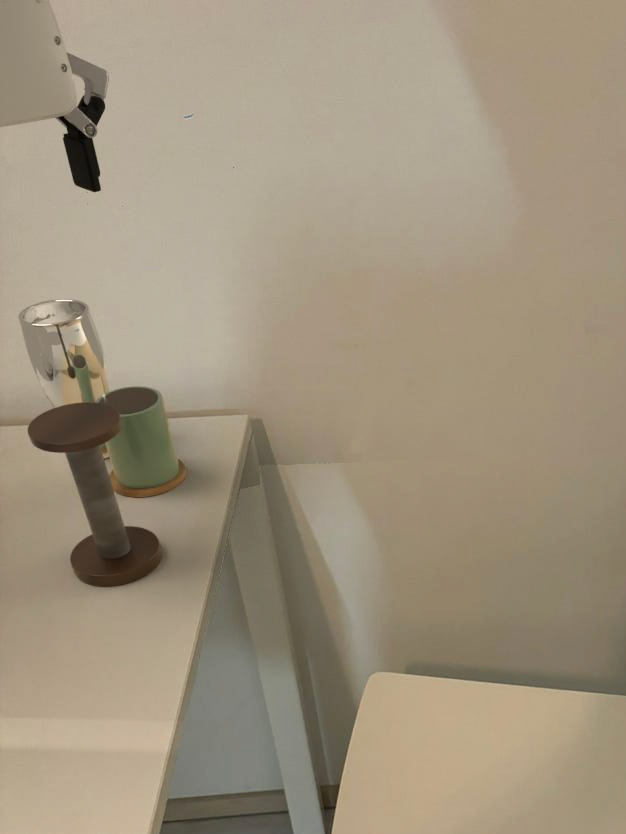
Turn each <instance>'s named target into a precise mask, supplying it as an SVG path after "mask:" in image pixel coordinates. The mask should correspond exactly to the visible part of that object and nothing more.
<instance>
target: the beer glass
mask: <svg viewBox="0 0 626 834" xmlns="http://www.w3.org/2000/svg"><path fill="white" fill-rule="evenodd" d="M18 320H19V324H20V327H21V332H22V337H23V340H24V344H25V347H26V351H27V354H28V357H29V360H30V363H31V366H32V369H33V371H34V373H35V375H36V378H37V379H38V381H39V385H40V386H41V388H42V389H43V391H44V393H45V395H46V396H47V398H48V400H49V403H50V404H51V405H52V409H53V408H56V407H59V406H63V405H68V404H73V403H82V402H94V403H95V402H96V400H97V399H98V398H99V397H101V396H102V395H104V394H106V393H108V392H110V388H109V378H108V369H107V368H108V367H107V361H106V357H105V353H104V348H103V345H102V342H101V338H100V336H99V332H98V329H97V327H96V324H95V321H94V319H93V317H92V313H91V311H90V307H89V305H88V304H87V303H86V302H85V301H82V300H79V299H73V298H72V299H70V298H59V299H58V298H57V299H49V300H45V301H39V302H37V303H34V304H31V305H29V306H27V307H25V308H24V309H23V310H21V311H20V312H19V314H18ZM100 448H101V451H102V454H103V457H104V460H105V459H108V458H110V457H109V454H108V451H107V447H106V444H105V443H104V444H101V445H100Z"/></svg>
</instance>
